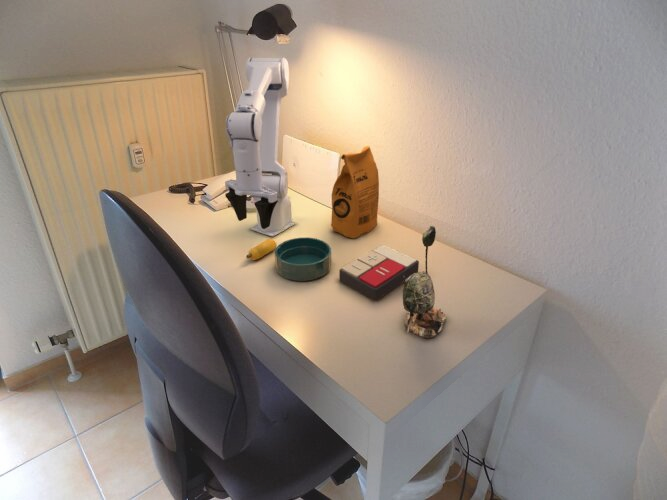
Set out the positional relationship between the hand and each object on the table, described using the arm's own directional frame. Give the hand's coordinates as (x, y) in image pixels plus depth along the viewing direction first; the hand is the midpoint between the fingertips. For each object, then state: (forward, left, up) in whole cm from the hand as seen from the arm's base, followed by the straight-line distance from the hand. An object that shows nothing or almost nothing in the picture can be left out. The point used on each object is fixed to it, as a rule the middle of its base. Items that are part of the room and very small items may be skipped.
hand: (253, 223), depth 102 cm
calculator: (-8, +30, -9) cm, 32 cm away
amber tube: (-1, +1, -9) cm, 9 cm away
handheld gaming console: (-25, -23, -9) cm, 36 cm away
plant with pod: (+2, +45, -9) cm, 46 cm away
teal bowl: (-2, +13, -9) cm, 16 cm away
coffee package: (-26, +12, -9) cm, 30 cm away
